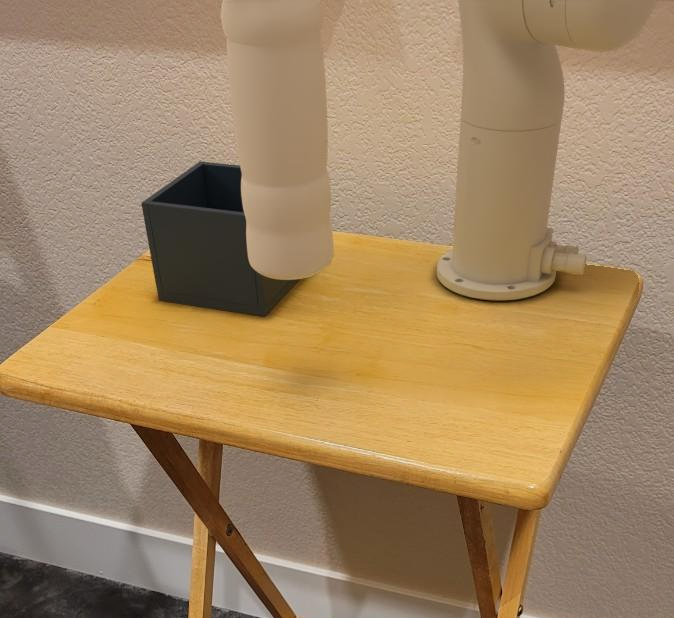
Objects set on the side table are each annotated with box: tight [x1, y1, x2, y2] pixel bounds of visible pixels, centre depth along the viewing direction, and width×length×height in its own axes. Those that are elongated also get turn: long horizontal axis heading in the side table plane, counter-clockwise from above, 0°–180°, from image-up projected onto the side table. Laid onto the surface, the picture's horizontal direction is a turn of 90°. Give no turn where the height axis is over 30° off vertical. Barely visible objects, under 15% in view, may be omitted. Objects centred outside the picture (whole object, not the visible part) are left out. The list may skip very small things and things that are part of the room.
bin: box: [140, 160, 301, 318], centre depth 92 cm, size 12×12×10 cm
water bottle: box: [220, 0, 335, 280], centre depth 64 cm, size 7×7×25 cm
